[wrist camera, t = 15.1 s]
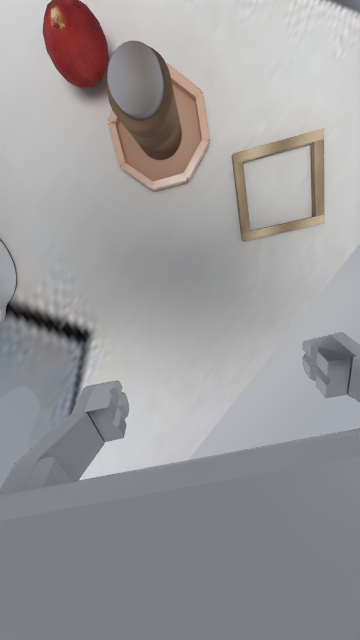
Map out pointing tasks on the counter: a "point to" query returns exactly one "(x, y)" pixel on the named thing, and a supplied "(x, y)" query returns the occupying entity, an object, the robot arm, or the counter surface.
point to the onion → (75, 42)
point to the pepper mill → (144, 98)
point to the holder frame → (316, 177)
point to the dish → (190, 148)
